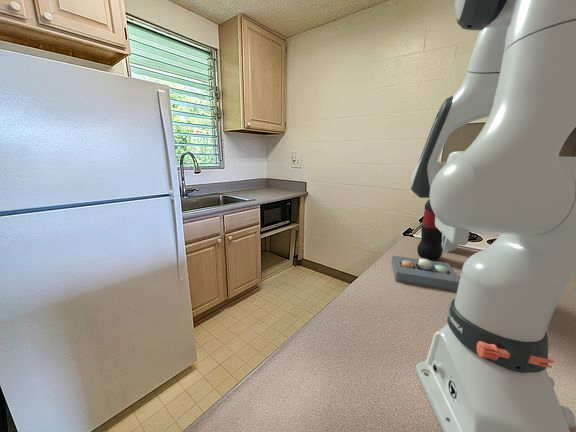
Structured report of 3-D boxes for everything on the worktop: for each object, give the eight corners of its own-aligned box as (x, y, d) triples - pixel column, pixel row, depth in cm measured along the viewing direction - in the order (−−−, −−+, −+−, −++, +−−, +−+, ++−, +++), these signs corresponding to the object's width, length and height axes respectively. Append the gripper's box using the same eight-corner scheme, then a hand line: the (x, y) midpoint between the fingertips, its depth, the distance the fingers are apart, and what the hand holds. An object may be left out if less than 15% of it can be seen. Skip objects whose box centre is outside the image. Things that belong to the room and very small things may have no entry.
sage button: (448, 277, 77) (449, 270, 77) (435, 275, 78) (436, 268, 78) (444, 271, 80) (446, 265, 80) (432, 270, 81) (433, 264, 81)
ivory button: (431, 270, 78) (432, 263, 78) (418, 268, 79) (420, 262, 79) (428, 265, 81) (429, 259, 81) (416, 263, 83) (417, 257, 82)
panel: (460, 291, 72) (462, 282, 71) (395, 280, 77) (396, 272, 77) (446, 271, 85) (448, 263, 84) (391, 262, 90) (392, 255, 89)
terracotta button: (413, 271, 80) (414, 265, 79) (401, 269, 81) (402, 263, 80) (411, 266, 83) (412, 261, 83) (400, 265, 84) (401, 259, 84)
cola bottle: (444, 262, 92) (461, 183, 84) (420, 260, 93) (435, 182, 85) (435, 254, 100) (449, 180, 92) (413, 252, 101) (425, 179, 93)
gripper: (481, 214, 63) (470, 263, 66) (455, 201, 82) (447, 240, 85) (453, 212, 65) (443, 260, 68) (434, 200, 84) (427, 238, 87)
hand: (445, 248), depth 77 cm, fingers closed
